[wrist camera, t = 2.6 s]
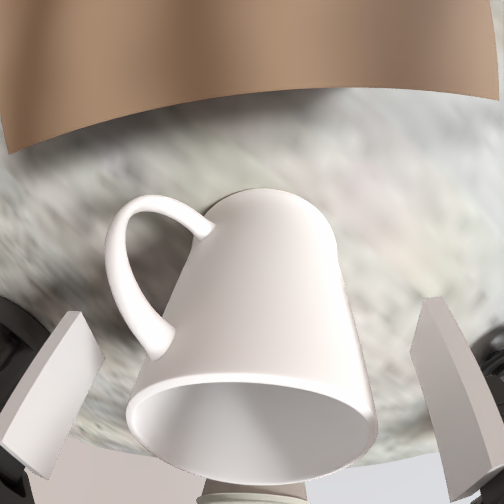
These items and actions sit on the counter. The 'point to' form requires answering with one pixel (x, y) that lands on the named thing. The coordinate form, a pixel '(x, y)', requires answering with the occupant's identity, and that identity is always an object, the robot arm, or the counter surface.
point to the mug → (247, 345)
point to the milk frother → (494, 365)
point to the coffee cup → (252, 493)
